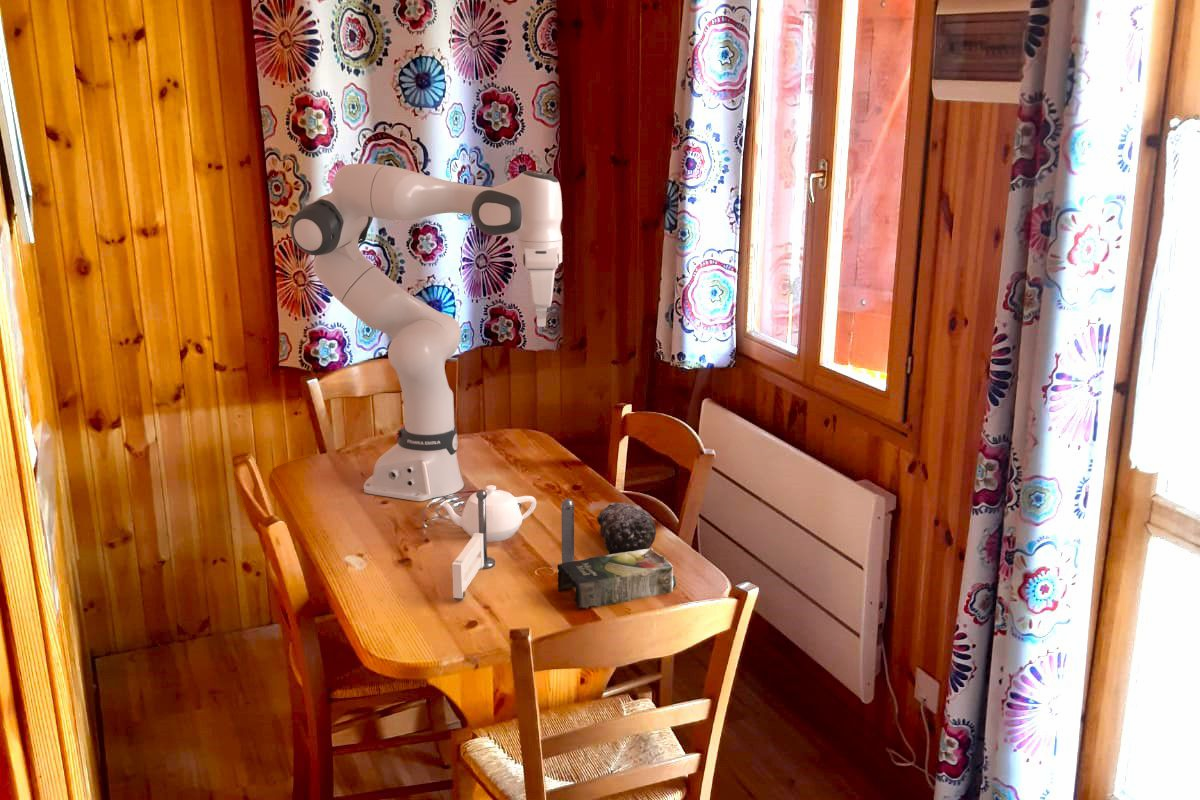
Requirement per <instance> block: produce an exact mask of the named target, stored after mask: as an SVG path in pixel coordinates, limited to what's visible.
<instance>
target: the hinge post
mask: <svg viewBox="0 0 1200 800" xmlns="http://www.w3.org/2000/svg"><path fill="white" fill-rule="evenodd" d="M485 490H486V489H482V488H481V489H478V490H477V491H476V492H477V493H476V492H475V493H476V496H477V498H478V517H479V533H483V546H484V566H483V568H482V569H481V570H489V569H492V568H493V567H495V565H496V559H494V558H493V557H490V556H488V545H487V544H488V542H487V536H486V501H485V498H486V497H487V493H486V491H485Z"/></svg>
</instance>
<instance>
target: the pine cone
mask: <svg viewBox="0 0 1200 800" xmlns="http://www.w3.org/2000/svg"><path fill="white" fill-rule="evenodd" d="M596 521H597V523H598V524H599V528H600V529H599V533H600V536H601V537H602V538H603V539H604V541H603V543H604V547H605V550H606V551H607V552H608V555H610V554H616V553H623V552H629V551H636V550H642V549H651V548H652V545H653V543H654V542H655V538H656V535H657V529H656V524H655V521H654V520H653V517H652V516H651V514H650V513H649V512H648V511H647V510H645V509H643V508H642V507H641V506H640V505H637V504H636V505H635V504H631V503H628V502H611V503H609V504H608V505H607V507H605V508H603V509H602V510H601V511H600V512H599V513H598V515H597V517H596Z"/></svg>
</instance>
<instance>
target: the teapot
mask: <svg viewBox="0 0 1200 800" xmlns="http://www.w3.org/2000/svg"><path fill="white" fill-rule="evenodd" d="M484 490H485V491H486V493H487V497H486V498H485V501H486V536H487V543H490V542H491V543H493V542H500V541H505V540H507V539H510V538H511V537H513V536H514V534H515V533H517V531H519V529H520V528H521V526H522V523H523V520H525V519H527V518H528V517H529V516H530V515H532V513H533V512H534V511H535V510H536V507H537V499H536V498H535V497H534V496H532V495H523V496H514V495H513V494H512V493H511V492H509V491H506V490H504V489H503V490H502V489H497V486H496V485H492V484H489V485H487V486H485V489H484ZM476 493H477V491H476V492H474V493H472V494H470V496H469V497H468V499H467V501H466V502H465V505H464V508H463V511H462V513H461V515H459V514H457V513H456V512H455V510H454V509H453V507H452V506H451V505H450V504H449V503H448V501H446V502H445V501H444V502H442V503H440V504H439V506H441V507H443V508H444V509H445V510H446V511H447V513H448V516H449V518H450V519H451V520H452V522H453V523H454V524H455V525H456V526H459V527H462V528H463V531H465V532H466V533H467V534H468V535H469V536H470V537H471V538H472V536H473V535H474V533H479V517H478V498H477V496H476ZM526 502H531V504H530V507H529V508H528V509H527V510H526V511H525V512H524V513H523V514H522V511H521V509H520V506H519V504H521V503H526Z"/></svg>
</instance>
